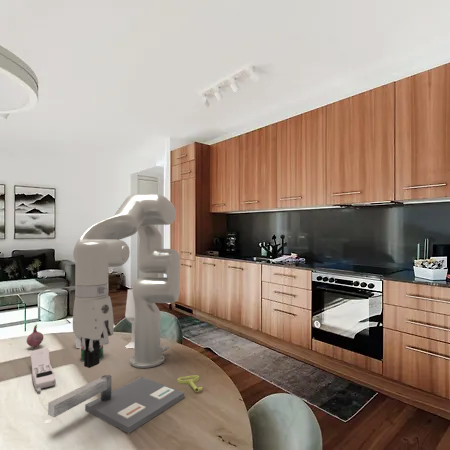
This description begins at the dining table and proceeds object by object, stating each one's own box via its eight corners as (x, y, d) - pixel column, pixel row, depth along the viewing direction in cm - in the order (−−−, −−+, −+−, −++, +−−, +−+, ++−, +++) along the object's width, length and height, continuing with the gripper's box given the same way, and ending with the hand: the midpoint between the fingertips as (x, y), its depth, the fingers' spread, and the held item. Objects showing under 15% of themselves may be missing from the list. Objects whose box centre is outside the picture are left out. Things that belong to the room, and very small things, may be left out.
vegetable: (27, 352, 127) (27, 327, 127) (25, 347, 132) (26, 323, 132) (44, 348, 130) (44, 324, 131) (42, 344, 135) (42, 321, 136)
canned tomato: (106, 358, 120) (107, 329, 120) (85, 364, 114) (86, 334, 115) (97, 353, 126) (97, 325, 126) (77, 358, 120) (77, 329, 120)
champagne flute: (144, 344, 136) (144, 289, 137) (134, 349, 129) (135, 291, 130) (131, 342, 138) (131, 288, 139) (121, 347, 132) (122, 290, 133)
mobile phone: (48, 347, 117) (57, 370, 96) (48, 362, 116) (57, 389, 96) (29, 350, 113) (34, 375, 93) (29, 367, 113) (34, 395, 93)
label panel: (142, 381, 101) (142, 375, 101) (184, 397, 91) (184, 391, 91) (85, 410, 84) (85, 403, 84) (128, 433, 74) (128, 425, 74)
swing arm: (113, 396, 88) (113, 376, 88) (54, 430, 73) (54, 405, 73) (106, 394, 89) (106, 374, 90) (47, 426, 74) (47, 402, 74)
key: (196, 396, 92) (196, 389, 92) (174, 382, 102) (174, 375, 102) (215, 389, 97) (215, 382, 97) (192, 375, 106) (192, 369, 106)
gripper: (125, 291, 77) (125, 365, 76) (85, 285, 84) (85, 354, 84) (99, 297, 70) (99, 378, 70) (59, 290, 77) (58, 364, 77)
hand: (91, 365), depth 77 cm, fingers closed
